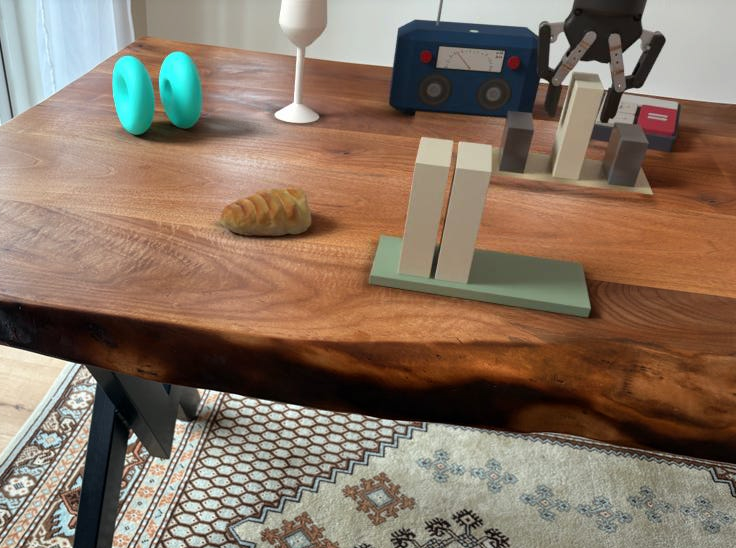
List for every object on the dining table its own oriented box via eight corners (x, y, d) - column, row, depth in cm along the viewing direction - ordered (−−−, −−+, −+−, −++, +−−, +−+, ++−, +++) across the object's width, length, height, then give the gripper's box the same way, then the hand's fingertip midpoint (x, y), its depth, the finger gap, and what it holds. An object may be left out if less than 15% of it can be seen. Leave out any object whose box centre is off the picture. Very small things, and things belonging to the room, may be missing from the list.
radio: (388, 116, 115) (408, -32, 104) (388, 99, 123) (407, -41, 111) (530, 127, 113) (567, -22, 102) (522, 110, 120) (555, -32, 109)
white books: (579, 272, 77) (616, 155, 70) (588, 317, 70) (629, 193, 63) (379, 243, 80) (396, 130, 74) (368, 284, 73) (385, 162, 66)
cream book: (573, 160, 100) (598, 73, 93) (578, 180, 94) (604, 89, 88) (549, 158, 100) (572, 71, 94) (552, 177, 95) (577, 86, 88)
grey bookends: (638, 172, 100) (655, 122, 96) (650, 202, 92) (669, 149, 88) (481, 153, 104) (491, 105, 100) (480, 180, 96) (491, 129, 92)
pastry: (232, 244, 79) (233, 210, 77) (211, 218, 84) (211, 185, 82) (315, 233, 82) (318, 199, 80) (290, 208, 87) (292, 175, 85)
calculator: (592, 119, 106) (604, 86, 117) (583, 148, 108) (596, 114, 119) (678, 133, 102) (683, 98, 113) (667, 163, 105) (673, 127, 115)
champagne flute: (295, 105, 118) (306, -73, 104) (328, 116, 114) (345, -67, 101) (265, 114, 114) (272, -70, 100) (298, 126, 110) (311, -64, 96)
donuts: (205, 136, 105) (205, 60, 100) (136, 145, 101) (132, 67, 96) (178, 115, 113) (176, 43, 107) (112, 123, 109) (107, 48, 103)
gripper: (553, -37, 82) (517, 121, 92) (697, -26, 80) (644, 135, 89) (549, -46, 88) (515, 103, 98) (683, -36, 86) (635, 116, 95)
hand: (577, 117), depth 94 cm, fingers open, 5 cm apart
